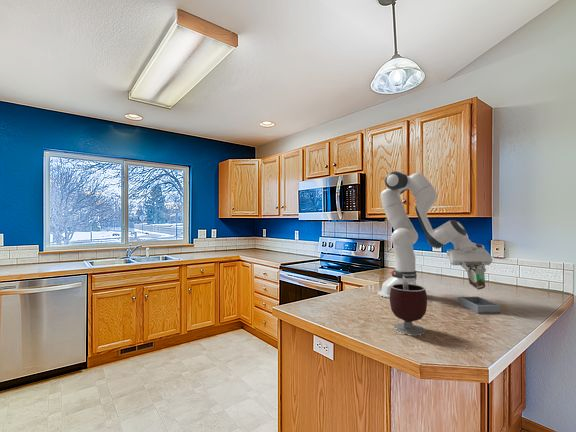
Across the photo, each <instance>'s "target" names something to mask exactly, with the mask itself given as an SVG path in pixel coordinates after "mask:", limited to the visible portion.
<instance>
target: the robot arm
mask: <svg viewBox="0 0 576 432" xmlns="http://www.w3.org/2000/svg"><path fill="white" fill-rule="evenodd" d="M384 183H385V186H386V187H387V188H385V189H383V190H382V191H381V192H380V196H379V197H380V202H381V206H382V208H383V209H382V210H383V211H384V214H385V216H386V218H387V221H388V223H389V225H391V227H392V229H393V230H394V231H393V232H392V233H391V235H390V240H391V243H392V247H393V252H394V263H395V264H394V270H392V269H390V270H389V274H390V275H391V276H390V277H389V278H388V279H386V280H385V281H383V282H382V285H381V290H380V289H379V290H378V291H377V294H378V295H379V296H380V297H382V296H383V298H385V297H386V299H390V290H391V285H394V284H403V276H404V277H405V278H406V280H407V283H408V284H413V285H417V279H418V278H417V270H416V255H415V252H414V251H415V250H414V244H416V242H417V241H418V239H419V234H418V232H417V230H416V229H415V227H414V225H413V223H412V222H411V220H410V218H409V217H408V214H407V212H406V209H405V207H404V205H403V202H402V199H401V196H400V195H402V194H403V193H405V192H406V191H407V190H409V191H410V192H411V194H412V196H414V199H415V202H416V203H415V207H414V208H415V209H414V210H415V213H416V216H417V218H418V221H419V223H420V226H421V228H422V230H423V232H424V234H425V237H426V241H427V242H428V244H429V245H430V247H432V248H434V249H435V248H436V249H441V248H443V247H444V246H445V245H447V244H448V243H451V244H452V245H453V249H451V248H449V249H447V250H446V254H447V256H448V261H449V262H450V264H451V265H452V266H461V268H463V269H464V270H465V271H466V272H470V271H471V269H470V267H467V266H466V265H469V264H480V265H483V266H484V267H485V270H486V271H487V268H486V266H490V265H491V264H492V262H493V257H492V256H491V254H490V252H489V251H487V250H486V249H485V248H486V247H485V245H483V244H479V243H475V242H472V240H471V239H469V235H468V233H467V231H466V229H465V227H464V226H463V224H462V223H461V222H460V221H458V220H453V219H450V220H447V222H445V223H443V224H441V225H440V226H438V227H436V228H434V229H433V227H432V224H431V222H430V220H429V218H428V212H429V210H430V209H431V208H432V206H433V205H434V204H435V202H436V201H437V197H438V196H437V195H438V194H437V190H436V189H435V187H434V186H433V184H432V183H431V182H430V181H429V179H427V178H426V176H425V175H424V174H422V172H415V173H412V174H409V175H408V174H406V173H405V172H401V171H391V172H389V173H388V174H386V177H385V179H384Z"/></svg>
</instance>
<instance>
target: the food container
mask: <svg viewBox="0 0 576 432" xmlns="http://www.w3.org/2000/svg"><path fill="white" fill-rule="evenodd" d="M466 266H467V267H470V269H471V271H470V272H467V278H468V282H469V284H470V285H471V286H472V287H474V288H475V289H476V290H483V289H485V287H486V278H485V277H486V275H485V272H486V271H487V269H486V270H485V268H486V266H485V267H484V266H483V265H480V264H469V265H466Z"/></svg>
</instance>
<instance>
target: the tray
mask: <svg viewBox="0 0 576 432" xmlns="http://www.w3.org/2000/svg"><path fill="white" fill-rule="evenodd" d="M457 304H458V305H461V306H462V307H464V308H466V309H468V310H470V311H472V312H475V313H476V314H501V305H499V304H497V303H495V302H492V301H490V300H487V299H485V298H482V297H481V296H457Z"/></svg>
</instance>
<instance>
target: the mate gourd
mask: <svg viewBox="0 0 576 432" xmlns="http://www.w3.org/2000/svg"><path fill="white" fill-rule="evenodd" d="M427 295H428V294H427V291H426V287H425V286H423V285H418V284H416V285H413V284H408V283H407V280H406V278H405V277H404V276H403V284H394V285H391V290H390V298H389V305H390V309H391V312H392V313H393V315H394V316H395V317H396V318H398V319H400V320H402V321H404V322H401V323H399V322H398V323H395V324H393V325H392V326H394V328H397V329H396V331H398V332H401V333H404V334H411V335H419V336H421V335H420V334H423V335H425V334H426V329H425V328H424V327H422V326H421V325H417V324H415V323H414V324H413V322H416V321H419V320H421V319H423V317H424V316H425V315H426V314H427V306H428V297H427ZM394 328H393V329H394ZM393 329H392V330H393ZM424 333H425V334H424Z"/></svg>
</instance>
